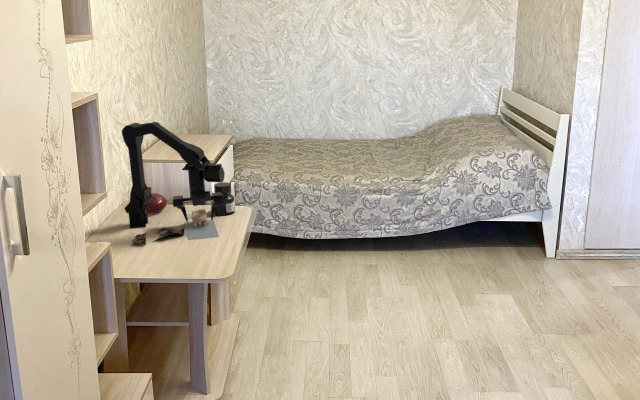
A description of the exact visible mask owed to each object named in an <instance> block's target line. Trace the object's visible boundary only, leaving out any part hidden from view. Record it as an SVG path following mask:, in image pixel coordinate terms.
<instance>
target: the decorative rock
mask: <svg viewBox="0 0 640 400" xmlns="http://www.w3.org/2000/svg"><path fill="white" fill-rule="evenodd" d="M185 232H186V229H184V228H183V227H182V228H181V229H174V228H170V227H162V228H158V229H156V234H158V235H160V236H159V237H158V238H157V239H155V240H154V242H158V240H161V239H163V238H165V237H167V236H173V235H178V236H179V235H181V236H184V235H185ZM133 238H135V239H134V241H133V242H132V244H134V245H139V246H142V245H145V244H147V232H144V233H141V234H136V235H135V236H134V237H133Z"/></svg>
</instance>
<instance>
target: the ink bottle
mask: <svg viewBox="0 0 640 400" xmlns="http://www.w3.org/2000/svg"><path fill="white" fill-rule="evenodd" d="M213 190H214V192H213V193H217V192H221V193H222V195H223V199H224V202H223V203H220V205H218V206H217V207H216V209H215V212H214V216H215V215H216V216H230V215H233V214H235V212H236V205H235V204H236V203H235V196H234V195H233V194H232V183H230V182H226V181H225V182H224V181H223V182H215V183H214V185H213Z"/></svg>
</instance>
